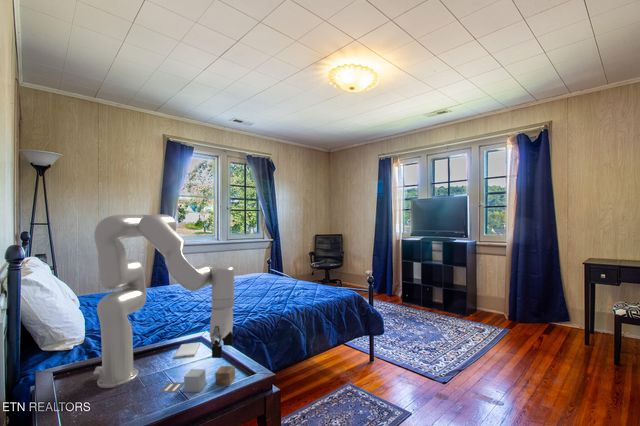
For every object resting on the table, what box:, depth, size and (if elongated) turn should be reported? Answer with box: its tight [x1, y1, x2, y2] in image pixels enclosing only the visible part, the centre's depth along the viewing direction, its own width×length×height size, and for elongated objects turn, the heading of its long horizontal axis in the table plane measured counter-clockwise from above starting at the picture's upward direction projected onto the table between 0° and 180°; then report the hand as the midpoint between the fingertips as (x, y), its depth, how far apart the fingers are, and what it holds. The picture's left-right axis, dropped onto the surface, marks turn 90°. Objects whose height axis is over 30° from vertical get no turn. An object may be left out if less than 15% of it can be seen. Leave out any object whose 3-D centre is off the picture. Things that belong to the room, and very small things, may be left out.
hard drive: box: [173, 342, 201, 360], centre depth 137 cm, size 2×8×12 cm
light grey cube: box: [183, 368, 207, 392], centre depth 106 cm, size 5×5×5 cm
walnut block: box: [214, 365, 236, 387], centre depth 109 cm, size 5×5×5 cm
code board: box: [159, 381, 208, 394], centre depth 106 cm, size 16×10×1 cm, turn 86°
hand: (222, 351), depth 110 cm, fingers open, 9 cm apart
